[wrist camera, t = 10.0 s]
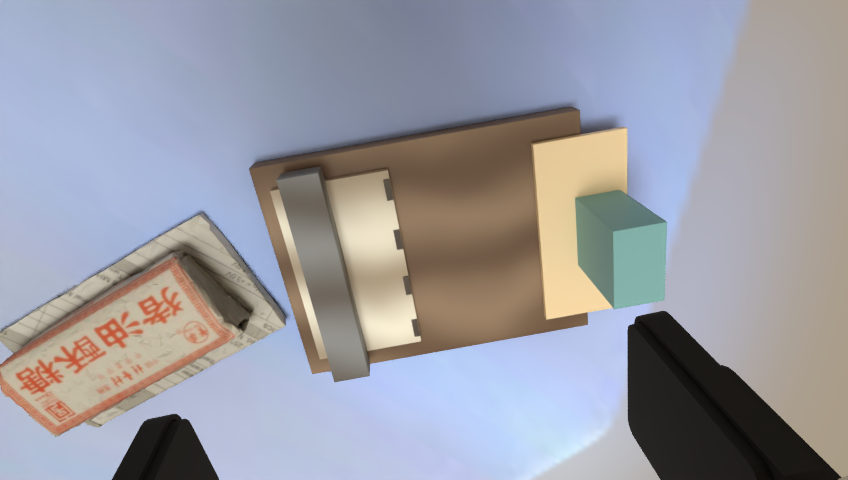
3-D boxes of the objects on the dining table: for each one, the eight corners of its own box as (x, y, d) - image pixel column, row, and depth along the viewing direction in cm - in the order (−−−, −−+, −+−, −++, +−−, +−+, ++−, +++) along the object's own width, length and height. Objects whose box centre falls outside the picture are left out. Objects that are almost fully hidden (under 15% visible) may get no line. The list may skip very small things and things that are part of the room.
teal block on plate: (530, 143, 32) (564, 169, 26) (623, 126, 32) (678, 149, 26) (544, 316, 37) (575, 371, 31) (624, 301, 37) (670, 354, 31)
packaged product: (68, 465, 36) (-49, 367, 32) (103, 417, 40) (4, 326, 37) (278, 352, 33) (178, 233, 30) (291, 314, 38) (205, 206, 34)
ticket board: (254, 163, 33) (240, 178, 29) (571, 106, 33) (592, 115, 30) (314, 361, 39) (308, 392, 36) (580, 314, 39) (598, 340, 36)
